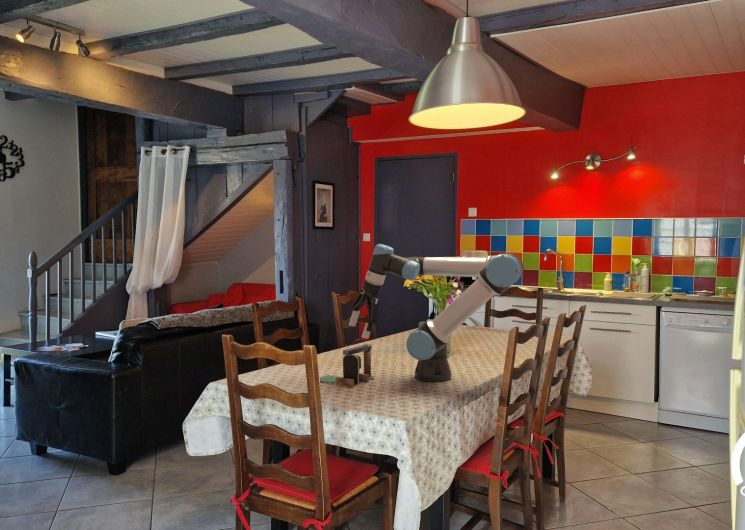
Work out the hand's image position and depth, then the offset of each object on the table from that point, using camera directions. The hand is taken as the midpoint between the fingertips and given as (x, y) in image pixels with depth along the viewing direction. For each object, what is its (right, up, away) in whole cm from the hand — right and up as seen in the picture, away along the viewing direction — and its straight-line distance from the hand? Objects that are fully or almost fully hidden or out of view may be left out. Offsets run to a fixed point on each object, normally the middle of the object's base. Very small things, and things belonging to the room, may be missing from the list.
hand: (358, 331), depth 257 cm
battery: (-2, -20, -5) cm, 21 cm away
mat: (-11, -20, +1) cm, 23 cm away
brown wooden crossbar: (0, -8, -3) cm, 8 cm away
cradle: (0, -20, -2) cm, 20 cm away
